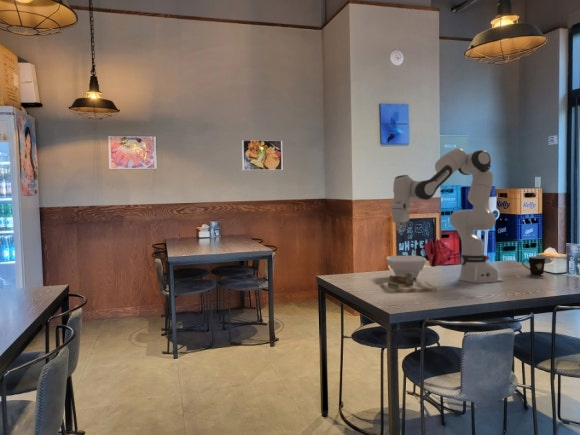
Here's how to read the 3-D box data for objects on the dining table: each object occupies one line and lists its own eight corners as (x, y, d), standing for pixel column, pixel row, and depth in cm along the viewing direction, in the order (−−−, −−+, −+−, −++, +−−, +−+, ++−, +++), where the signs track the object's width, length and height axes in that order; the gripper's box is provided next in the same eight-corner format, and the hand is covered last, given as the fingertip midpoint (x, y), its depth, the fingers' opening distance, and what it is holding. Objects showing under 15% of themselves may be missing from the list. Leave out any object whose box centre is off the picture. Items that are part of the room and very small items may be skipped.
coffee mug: (545, 273, 273) (545, 256, 273) (544, 276, 266) (544, 258, 266) (523, 272, 280) (523, 255, 279) (522, 274, 272) (522, 257, 272)
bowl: (429, 281, 260) (429, 260, 259) (389, 281, 262) (389, 261, 261) (421, 274, 282) (421, 255, 282) (384, 274, 284) (384, 255, 283)
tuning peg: (413, 283, 245) (413, 272, 245) (413, 285, 241) (413, 273, 241) (390, 283, 249) (390, 271, 248) (389, 284, 245) (389, 273, 245)
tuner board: (425, 284, 252) (425, 276, 252) (436, 291, 234) (436, 283, 234) (381, 285, 251) (381, 278, 251) (389, 292, 233) (389, 284, 233)
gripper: (401, 204, 263) (400, 229, 264) (390, 205, 246) (389, 231, 246) (412, 204, 260) (412, 229, 261) (401, 205, 243) (401, 231, 243)
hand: (401, 230), depth 253 cm, fingers open, 8 cm apart
